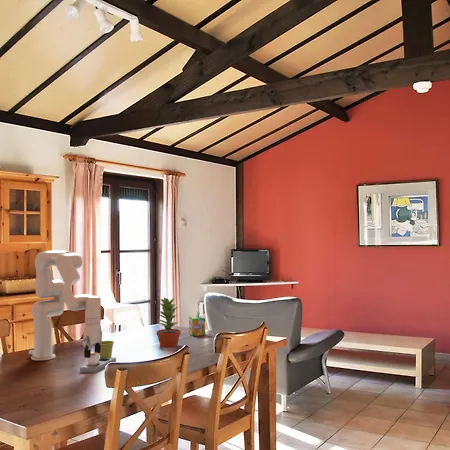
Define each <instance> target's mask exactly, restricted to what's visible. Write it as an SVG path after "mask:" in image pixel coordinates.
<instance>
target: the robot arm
mask: <svg viewBox="0 0 450 450" xmlns="http://www.w3.org/2000/svg"><path fill="white" fill-rule="evenodd" d="M82 265H83V259H82V256H81V255H80V254H79V253H78V252H77V253H76V252H72V251H68V250H61V249H60V250H45V251H40V252H39V253H37V254H36V256H35V259H34V266H35V271H36V274H35V275H36V277H35V295H36V297H37V298H40V299H41V300H37V301H35V302H34V303H33V304H32V307H31V314H32V318H33V345H34V347H33V348H34V349H30V350H28V354H29V355H32V356H30V358H31V360H32V361H38V362H39V361H49V360H53V359H56V354H55V353H53V324H52V321H51V320H50V318H51V317H57V316H61V315H62V314H63V313H64V310H65V305H66V307H67V309H68V310H70V311H73V312H75V311H81V310H85V311H84V315H85V316H84V327H83V335H82V337H83V338H82V340H83V341H82V347H83V350H84V354H83V356H84V358H87V359H88V358H90V357H91V352H92V350H91V347H92V345H93V346H94V349H93V352H97V353H101V341H103V340H102V339H103V334H102V330H101V329H102V328H101V320H102V319H101V316H102V315H101V312H102V311H101V310H102V309H101V308H102V304H101V303H102V301H101V297H100V296H98V295H93V294H90V293H87V294H86V293H85V294H77V295H74V294H73V291H72V289H71V288H72V286H73V285H75V284H76V283H78V282H79V281H80V279H81V276H80V272H79V271H78V269H80V268H81V267H82ZM51 267H56V268H57V271H58V272H59V275H60V277H61V278H62V280H63V281H62V280H60V279H53V271H52V268H51ZM47 298H51V299H47ZM42 299H43V300H42Z"/></svg>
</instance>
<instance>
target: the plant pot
mask: <svg viewBox="0 0 450 450" xmlns="http://www.w3.org/2000/svg"><path fill="white" fill-rule="evenodd" d="M114 343H115V342H114V340H102V341H101V353H99V358H101V357H112V356H113V355H112V353H113V346H114Z"/></svg>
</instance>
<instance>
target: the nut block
mask: <svg viewBox="0 0 450 450" xmlns="http://www.w3.org/2000/svg"><path fill="white" fill-rule="evenodd" d="M99 358H100V356H99V353H97V352H94V351H91V357H90V358H87V364H88V366H98V365H99Z"/></svg>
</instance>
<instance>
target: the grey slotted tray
mask: <svg viewBox="0 0 450 450" xmlns="http://www.w3.org/2000/svg"><path fill="white" fill-rule="evenodd" d="M110 362H116V363H117V357H112V356H111V357H101V358H100V357H99V365H98V366H88V363H86V364H84V365H82V366H80V367H79V373H83V374H84V373H85V374H96V373H98V372H100V371H102V370H104V369H105V366H106V365H107V364H108V363H110Z"/></svg>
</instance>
